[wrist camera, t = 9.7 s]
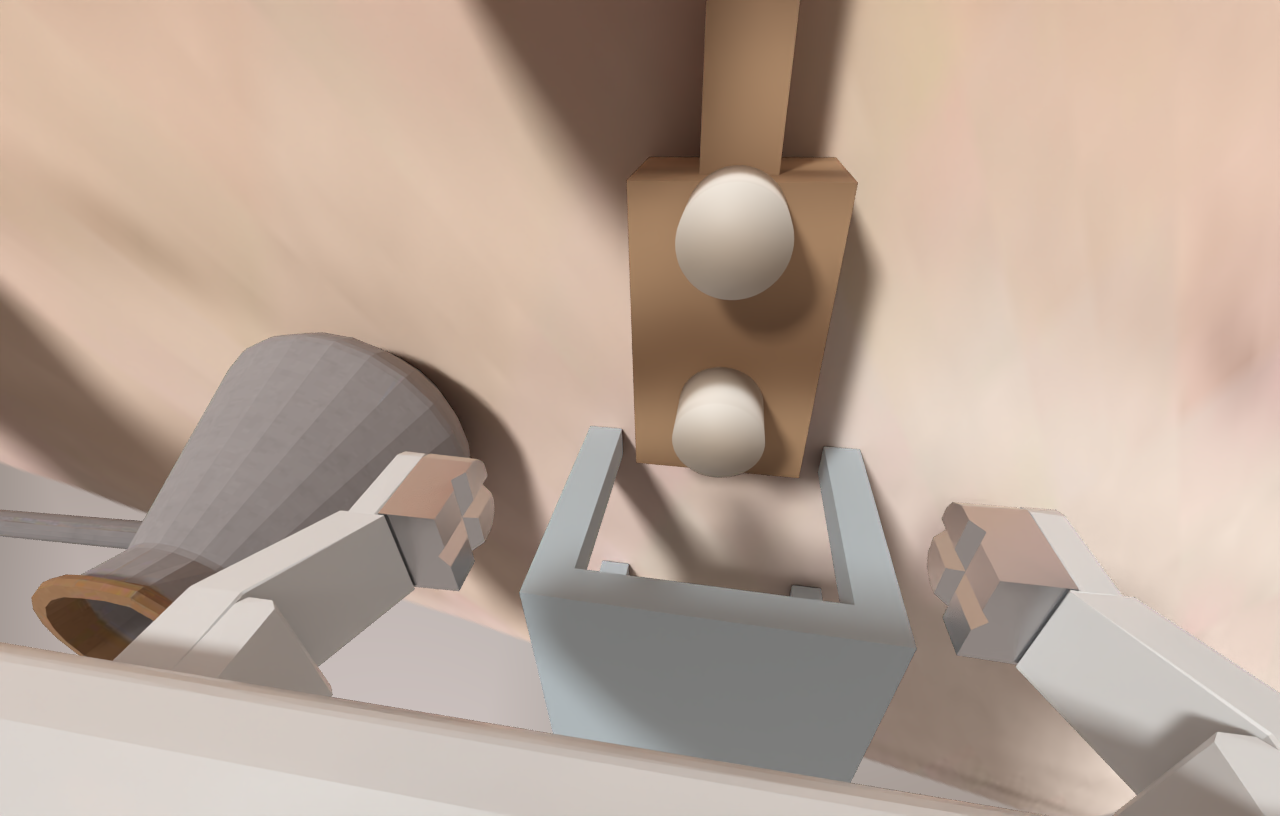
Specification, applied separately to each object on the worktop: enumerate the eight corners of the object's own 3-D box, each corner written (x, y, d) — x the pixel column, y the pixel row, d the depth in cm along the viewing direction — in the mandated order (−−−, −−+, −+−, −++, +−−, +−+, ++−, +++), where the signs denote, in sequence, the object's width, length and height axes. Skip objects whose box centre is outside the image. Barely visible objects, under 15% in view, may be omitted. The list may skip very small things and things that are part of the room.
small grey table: (604, 577, 30) (556, 749, 23) (590, 425, 24) (519, 592, 17) (816, 605, 28) (840, 802, 21) (859, 449, 22) (916, 648, 15)
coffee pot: (526, 387, 24) (287, 743, 11) (459, 527, 30) (261, 849, 18) (45, 132, 21) (-983, 240, 8) (86, 348, 27) (-460, 587, 15)
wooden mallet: (643, -405, 11) (555, -790, 6) (942, -456, 10) (1133, -958, 5) (652, 404, 23) (624, 503, 18) (791, 415, 22) (804, 522, 17)
